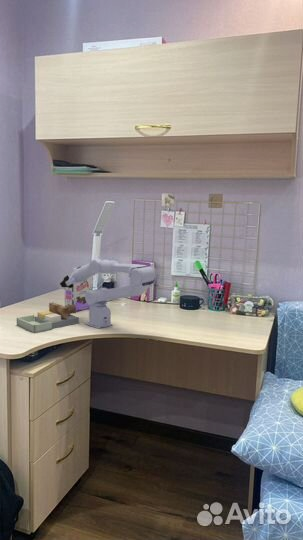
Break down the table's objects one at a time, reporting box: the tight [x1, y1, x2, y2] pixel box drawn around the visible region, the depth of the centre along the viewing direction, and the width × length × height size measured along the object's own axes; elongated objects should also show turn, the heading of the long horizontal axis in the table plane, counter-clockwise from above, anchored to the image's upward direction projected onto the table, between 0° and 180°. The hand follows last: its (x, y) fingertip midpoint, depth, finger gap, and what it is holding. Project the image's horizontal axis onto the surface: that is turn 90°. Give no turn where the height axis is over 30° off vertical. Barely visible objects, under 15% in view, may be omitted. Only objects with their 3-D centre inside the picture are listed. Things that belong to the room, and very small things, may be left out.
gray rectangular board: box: [16, 314, 80, 334], centre depth 185 cm, size 15×22×3 cm
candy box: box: [64, 276, 94, 313], centre depth 210 cm, size 14×6×16 cm, turn 143°
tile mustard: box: [36, 310, 54, 319], centre depth 187 cm, size 5×5×2 cm
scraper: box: [48, 302, 77, 318], centre depth 190 cm, size 12×9×4 cm
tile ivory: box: [45, 313, 61, 322], centre depth 182 cm, size 5×5×2 cm
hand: (66, 281), depth 196 cm, fingers open, 7 cm apart
